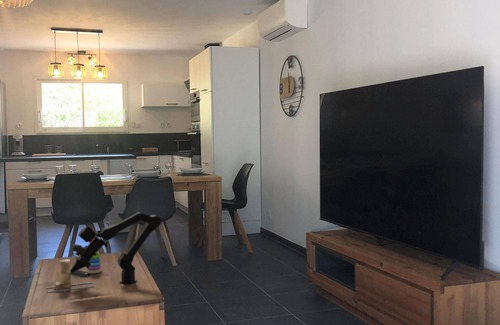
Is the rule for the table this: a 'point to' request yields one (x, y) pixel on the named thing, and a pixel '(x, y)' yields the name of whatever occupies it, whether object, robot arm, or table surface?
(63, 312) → the table surface
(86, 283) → the track
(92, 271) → the stacking toy
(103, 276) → the table surface
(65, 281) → the stepped wooden block
